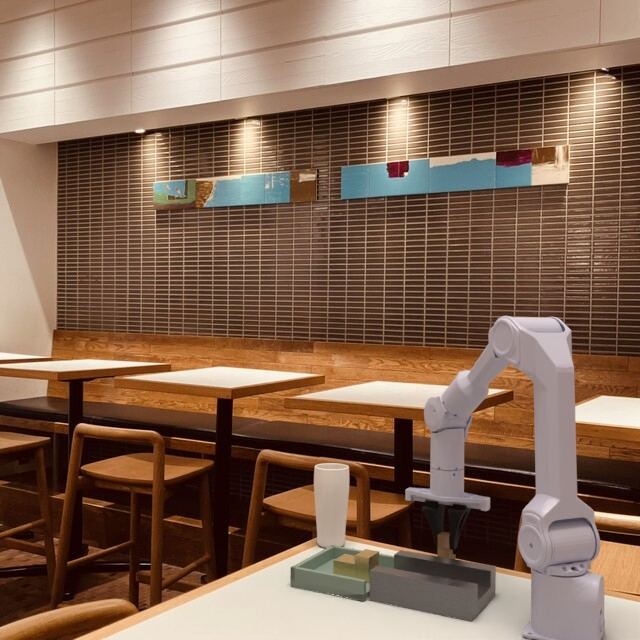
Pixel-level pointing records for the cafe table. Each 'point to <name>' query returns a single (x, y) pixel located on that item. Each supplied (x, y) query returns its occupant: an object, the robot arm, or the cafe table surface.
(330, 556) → the tray
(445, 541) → the stepped wooden block
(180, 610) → the cafe table surface
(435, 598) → the grey open tray
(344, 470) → the drinking glass
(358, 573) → the tan square block
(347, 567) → the tan wooden square block
